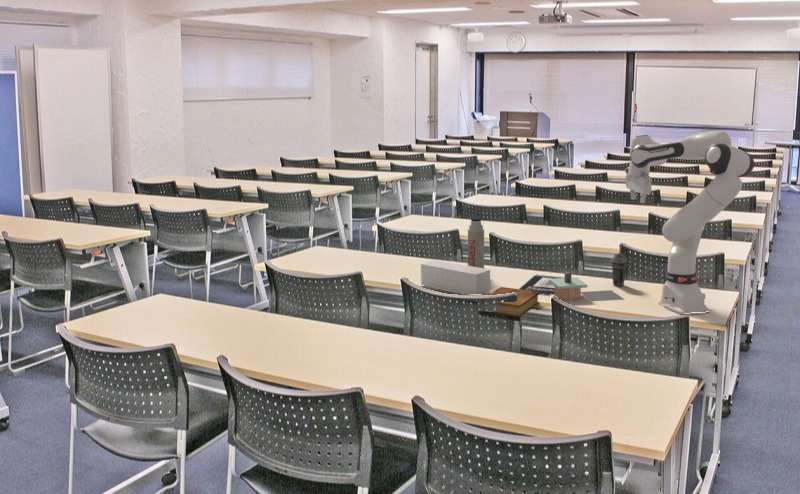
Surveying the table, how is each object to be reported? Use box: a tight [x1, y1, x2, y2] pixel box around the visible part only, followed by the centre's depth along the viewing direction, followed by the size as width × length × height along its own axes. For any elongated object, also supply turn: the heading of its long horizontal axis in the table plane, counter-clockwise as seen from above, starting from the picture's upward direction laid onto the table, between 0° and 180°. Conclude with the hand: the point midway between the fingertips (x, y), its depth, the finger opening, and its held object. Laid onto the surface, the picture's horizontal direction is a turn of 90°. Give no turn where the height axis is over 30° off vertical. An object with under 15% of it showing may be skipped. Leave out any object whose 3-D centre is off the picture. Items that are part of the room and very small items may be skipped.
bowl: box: [553, 287, 582, 301], centre depth 362 cm, size 11×11×6 cm
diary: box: [488, 286, 540, 318], centre depth 349 cm, size 23×19×6 cm
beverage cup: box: [611, 244, 629, 287], centre depth 377 cm, size 7×7×20 cm
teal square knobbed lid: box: [549, 271, 588, 289], centre depth 360 cm, size 13×13×5 cm
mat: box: [581, 290, 625, 302], centre depth 362 cm, size 15×15×1 cm
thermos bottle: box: [467, 217, 485, 269], centre depth 403 cm, size 8×8×28 cm
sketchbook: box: [518, 274, 562, 297], centre depth 381 cm, size 22×30×2 cm
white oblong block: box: [420, 259, 491, 295], centre depth 379 cm, size 32×11×11 cm, turn 49°
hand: (637, 201), depth 374 cm, fingers open, 8 cm apart
